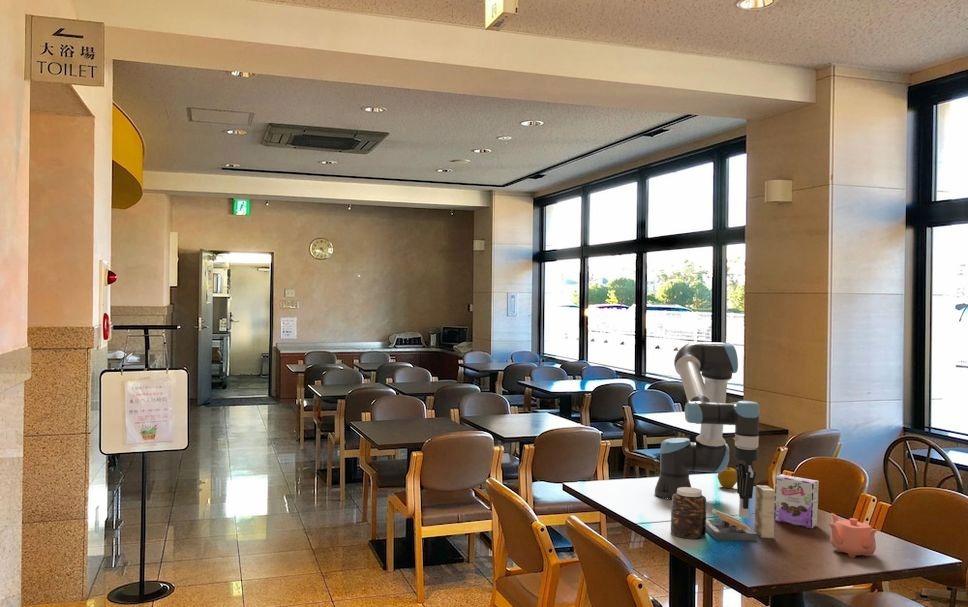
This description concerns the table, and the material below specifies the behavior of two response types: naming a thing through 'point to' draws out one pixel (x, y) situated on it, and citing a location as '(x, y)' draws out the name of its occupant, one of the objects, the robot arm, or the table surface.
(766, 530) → the birch block
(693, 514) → the jar
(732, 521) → the orange wooden board
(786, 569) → the table surface
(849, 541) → the pink rounded pig figure
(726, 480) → the apple
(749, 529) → the grey square base
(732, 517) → the paddle far
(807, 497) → the candy box
